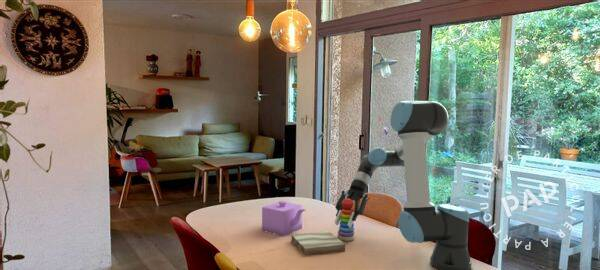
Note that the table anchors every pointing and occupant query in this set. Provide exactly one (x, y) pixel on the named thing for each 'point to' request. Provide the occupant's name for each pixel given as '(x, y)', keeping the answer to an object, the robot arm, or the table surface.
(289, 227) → the teapot
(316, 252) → the wooden square board
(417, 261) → the table surface
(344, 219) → the stacking toy
